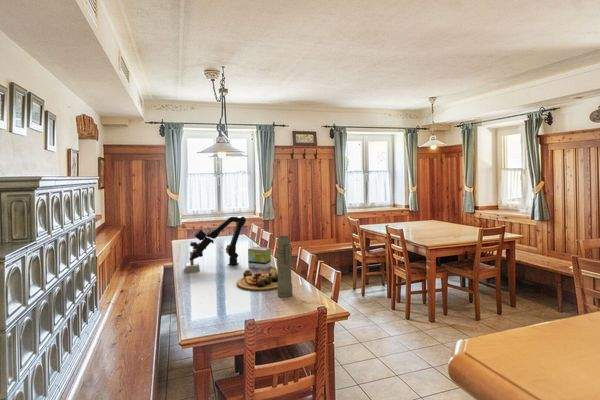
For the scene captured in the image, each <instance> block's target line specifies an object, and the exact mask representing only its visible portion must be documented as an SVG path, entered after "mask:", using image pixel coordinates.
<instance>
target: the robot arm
mask: <svg viewBox="0 0 600 400" xmlns="http://www.w3.org/2000/svg"><path fill="white" fill-rule="evenodd" d="M246 220H247V219H246V218H245V216H243V215H239V216H228V217H227V218H226V219H225V220H224V221H223V222H221V223H220V224H219V225H218V226H217V227H215V228H213V229H211V230H210V231H208V232H204V231H203V230H202V229H200V228H199V230H198V231H196V232H195V233H194V236H193V237H195V238H196V239H197V240H198V241H200V242H198V243H197V242H196V241H193V240H191V241H190V244H189V246H190V247H192V252H193V255H192V257H191V258H190V257H189V262H190V261H191V260H195V259H197V258H202V257H203V256H204V255H203V252H204V251H205V250H206V249H207V247H208V246H209V245H210V244H211V243H212V244H214V239H217V237H218V236H219V235H220V234H221V232H223V230H224V229H226V228H227V227H228V226H229V225H230V224H232V223H235V229H234V231H233V234H232V237H231V241H230V243H229V244H227V245H226V247H225V253H226V254H227V255H228V256H229V257H228V258H229V259H228V262H229V263H228V264H227V265H228V266H237V265H239V264H240V263H239V262H238V258H239V254H238V253H237V246H236V245H237V243H238V240H239V236H240V234H241V230H242V228H243V227H244V225H245V223H246V222H247V221H246Z"/></svg>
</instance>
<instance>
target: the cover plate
mask: <svg viewBox="0 0 600 400" xmlns="http://www.w3.org/2000/svg"><path fill="white" fill-rule="evenodd" d="M192 255H193V251H190V252H189V259H190V258H191V257H192ZM194 260H195V259H193V260H191V261H190V260H189V262H186V263H185V264H186V266H187V267H195V266H198V262H195V261H194Z"/></svg>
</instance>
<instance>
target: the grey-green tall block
mask: <svg viewBox="0 0 600 400" xmlns="http://www.w3.org/2000/svg"><path fill="white" fill-rule="evenodd" d="M276 244H277V255H276V267H277V274H278V284H277V289H276V291H277V297H278V298H282V299H285V298H286V299H288V298H291V297H293V289H294V288H293V282H292V267H293V257H292V254H291V249H292V247H291V238H290V236H288V235H279V236H278V238H277V243H276Z"/></svg>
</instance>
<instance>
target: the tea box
mask: <svg viewBox="0 0 600 400" xmlns="http://www.w3.org/2000/svg"><path fill="white" fill-rule="evenodd" d="M271 250H272V248H271V247H262V246H261V247H260V246H253V247H251V248H248V249H247V261H248V268H253V269H261V270H266V269H268V268H270V267H271V266H272V251H271Z"/></svg>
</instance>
